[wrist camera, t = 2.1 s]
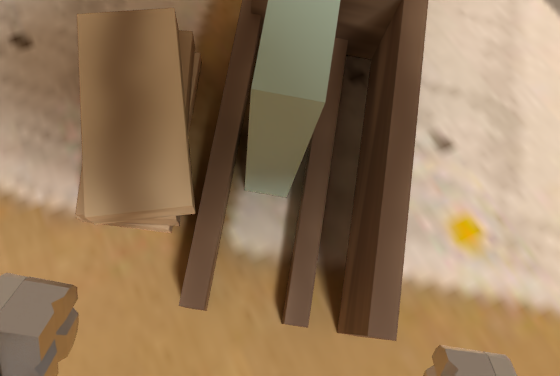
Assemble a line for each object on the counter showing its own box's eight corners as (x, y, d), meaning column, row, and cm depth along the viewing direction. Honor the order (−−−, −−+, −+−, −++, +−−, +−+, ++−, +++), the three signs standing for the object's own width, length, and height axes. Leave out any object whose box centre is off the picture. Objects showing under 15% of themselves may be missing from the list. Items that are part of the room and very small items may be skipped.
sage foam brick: (297, 132, 37) (341, -5, 21) (286, 197, 36) (325, 102, 20) (256, 124, 37) (271, -18, 21) (244, 190, 35) (250, 88, 20)
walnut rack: (392, 45, 39) (430, -22, 32) (359, 336, 33) (396, 340, 26) (243, 17, 39) (245, -58, 31) (183, 307, 33) (167, 302, 25)
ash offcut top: (177, 27, 34) (174, 7, 32) (195, 213, 31) (192, 205, 29) (86, 33, 34) (76, 14, 31) (95, 224, 30) (84, 217, 28)
